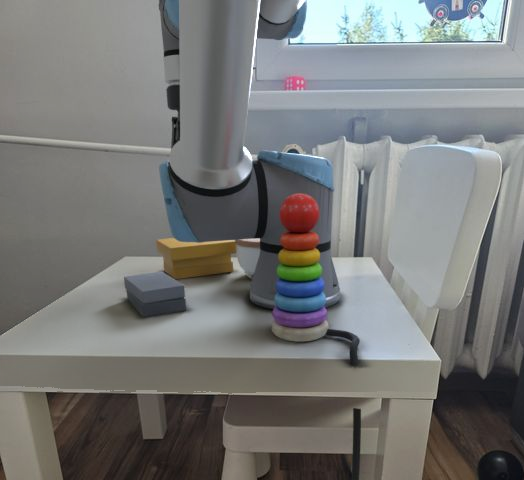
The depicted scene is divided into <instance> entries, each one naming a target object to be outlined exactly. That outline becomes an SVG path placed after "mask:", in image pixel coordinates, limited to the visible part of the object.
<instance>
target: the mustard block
mask: <svg viewBox="0 0 524 480" xmlns="http://www.w3.org/2000/svg"><path fill="white" fill-rule="evenodd" d="M155 242H156V252H158V253H159V254H161V255H162V256H163V255H164V256H165V257H167V258H168V259H170V260H171V261H173V260H182V259H190V258H199V257H208V256H216V255H225V254H231V255H233V254H236V243H235V240H225V241H210V242H202V243H200V242H199V243H197V242H180V241H178V240H176V239H175V238H174V237H171V238H170V237H169V238H161V239H160V238H159V239H156V240H155Z"/></svg>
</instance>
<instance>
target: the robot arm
mask: <svg viewBox="0 0 524 480" xmlns="http://www.w3.org/2000/svg"><path fill="white" fill-rule="evenodd" d="M158 10H159V15H160V16H159V17H160V27H161V39H162V48H163V68H164V69H163V70H164V71H163V72H164V82H165V83H166V84H168V85H167V87H166V89H165V90H166V104H167V108H168V109H169V110H171V111H177V116H171V141H170V142H171V143H170V144H171V145H170V153H169V160H166V161H165V162H161V163H160V164H159V166H158V171H159V172H158V173H159V179H160V185H161V191H162V195H163V199H164V204H165V206H164V207H165V210H166V211H165V212H166V216H167V221H168V226H169V230H170V233H171V236H172V238H175V239H176V240H178V241H180V242H197V243H199V242H200V243H202V242H210V241H225V240H239V239H254V238H260V255H259V258H258V262H257V265H256V268H255V272H254V275H252V276H251V278H250V285H249V299H250V302H252V303H253V304H254V305H256V306H259V307H262V308H266V309H270V310H273V309H274V308H275V307H276V304H275V295H276V294H277V293H278V291H277V289H276V282H277V280H278V279H279V278H280V277H279V276H278V274H277V267H278V266H279V265H280V264H281V262H280V261H279V259H278V254H279V252H280V251H281V250H282V249H284V247H283V246H282V245H281V242H280V239H281V236H282V235H283V234H284V233H286V232H290V231H288V230H287V229H286V228H285V227H284V226H283V224H282V222H281V219H280V208H281V205H282V203H283V202H284V201H285V200H286V198H288V197H289V196H291V195H293V194H299V193H301V194H306V195H309V196H311V197H312V198H313V199H314V200H315V201H316V203H317V205H318V208H319V219H318V222H317V224H316V225H315V227H314V228H313V229H312V230H310V231H312V232H315V233H316V234H317V235H318V237H319V243H318V245H317V246H316V247H315V248H316V249H317V250H318V251H319V252H320V259H319V261H318V262H317V263H319V264H320V265H321V268H322V273H321V276H320V277H321V278H322V279H323V281H324V289H323V291H322V292H323V293H324V294H325V296H326V302H325V305H324V307H325V308H329V307H331V306H333V305H335V304H337V303H338V302H339V301H340V298H341V297H340V295H341V288H340V283H339V279H338V276H337V272H336V268H335V265H334V261H333V257H332V253H331V251H332V250H331V246H332V225H333V224H332V223H333V205H334V204H333V203H334V202H333V201H334V192H335V186H334V167H333V165H332V163H331V161H330V160H329V159H327V158H326V157H321V156H315V155H307V154H299V153H291V152H281V151H274V150H265V149H262V150H259V151H258V154H257V156H256V160H253V158H252V155H251V153H250V152H249V150H248V149H247V148H246V147H245V140H246V131H247V122H248V112H249V104H250V95H251V86H252V80H253V79H252V78H253V71H254V70H253V68H254V59H255V52H256V44H257V43H256V42H257V39H259V40H275V41H282V40H294V39H297V38H298V37H300V36H301V35H302V33H303V31H304V26H305V24H306V22H307V13H308V1H307V0H158ZM324 336H328V337H329V336H330V337H337V338H341V339H342V338H343V339H346V340H348V341H350V345H349V349H348V351H349V364H350V366H354V367H357V366H359V358H358V356H359V355H358V350H359V349H358V348H359V346H360V341H361V340H360V338H359V336H358V335H356V334H354V333H353V332H350V331H347V330H342V329H335V328H334V329H332V328H328V329H327V332H326V334H325V335H324ZM361 435H362V409H361V408H356V407H353V408H352V461H351V479H350V480H360V466H361V445H362V443H361V441H362V440H361V439H362V436H361Z"/></svg>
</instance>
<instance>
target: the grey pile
mask: <svg viewBox="0 0 524 480" xmlns="http://www.w3.org/2000/svg"><path fill="white" fill-rule="evenodd" d="M123 283H124V288H125V291H126V298H127V300H128V301H129V302H130V304H131V305H132V306H133V307H134V309H136V311H137V312H138V313H139V314H140V315H141V316H142V317H143V318H147V317H154V316H160V315H166V314H167V315H168V314H172V313H173V314H174V313H178V312H184V311H187V301H186V298H185V297H186V291H185V284H182V282H179V281H178V280H177V279H174V278H173V277H171V276H170V275H169V274H167V273H166V272H165V271H156V272H149V273H141V274H135V275H127V276H123Z"/></svg>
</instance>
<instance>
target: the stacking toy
mask: <svg viewBox="0 0 524 480" xmlns="http://www.w3.org/2000/svg"><path fill="white" fill-rule="evenodd" d="M280 219H281V222H282V224H283V226H284V227H285V228H286V229H287V230H288V231H290V232H286V233H284V234H283V235H282V236H281V239H280V242H281V245H282V246H283V247H284V249H282V250H281V251H280V252H279V254H278V259H279V261H280V262H281V264H280V265H279V266H278V267H277V274H278V276H279V277H280V278H279V279H278V280H277V282H276V289H277V291H278V293H277V294H276V295H275V304H276V307H275V308H274V309H272V318H273V321H272V323H271V331H272V333H273V334H274V335H275V336H276V337H278V338H279V339H282V340H286V341H289V342H298V343H301V342H312V341H315V340H319V339H320V338H321V339H322V338H323V337H324V336H326V335H325V334H326V332H327V329H330V327H329V322H328V321H327V318H328V311H327V309H326V308H327V307H324V305H325V302H326V296H325V294H324V293H323V292H322V291H323V289H324V281H323V279H322V278H321V277H320V276H321V273H322V268H321V265H320V264H319V263H317V262H318V261H319V259H320V252H319V251H318V250H317V249H316V248H315V247H316V246H317V245H318V243H319V237H318V235H317V234H316V233H315V232H312V231H310V230H312V229H313V228H314V227H315V225H316V224H317V222H318V219H319V208H318V205H317V203H316V201H315V200H314V199H313V198H312V197H311V196H309V195H306V194H301V193H299V194H293V195H291V196H289V197H288V198H286V200H285V201H284V202H283V203H282V205H281V208H280Z"/></svg>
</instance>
